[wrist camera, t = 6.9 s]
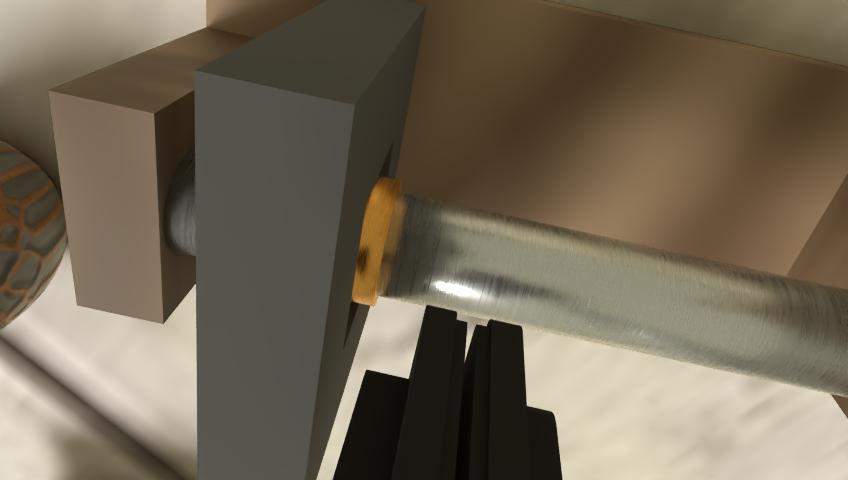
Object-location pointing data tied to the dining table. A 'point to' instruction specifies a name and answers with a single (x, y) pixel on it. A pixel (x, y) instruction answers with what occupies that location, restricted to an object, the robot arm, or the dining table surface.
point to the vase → (27, 232)
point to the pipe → (582, 286)
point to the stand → (500, 141)
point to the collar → (290, 226)
